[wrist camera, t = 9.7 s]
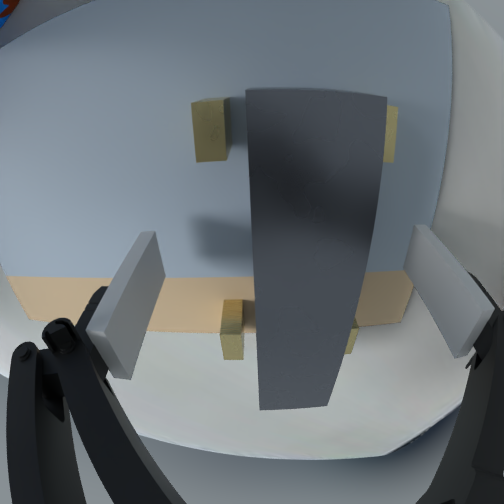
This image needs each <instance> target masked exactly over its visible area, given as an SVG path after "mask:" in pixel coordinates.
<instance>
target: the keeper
mask: <svg viewBox="0 0 504 504" xmlns="http://www.w3.org/2000/svg"><path fill="white" fill-rule="evenodd" d="M191 112H192V123H193V135H194V145H195V156H196V163H199V162H214V161H227V159H228V156H229V153H230V150H231V147H232V132H231V114H230V97H218V98H206V99H201V100H198V101H195V102H192V103H191ZM397 118H398V107H396V106H392V105H388V104H387V118H386V133H385V146H384V157H383V162H388V163H393V162H394V153H395V143H396V132H397ZM244 329H245V323H244V310H243V299H229V300H224V302H223V311H222V319H221V328H220V339H221V345H222V351H223V356H224V360H243V359H244ZM358 330H359V327H358V324H357V321H356V318H354V321H353V325H352V329H351V332H350V336H349V339H348V343H347V346H346V350H345V353H344V354H351V352H352V349H353V346H354V343H355V340H356V336H357V333H358Z"/></svg>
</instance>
